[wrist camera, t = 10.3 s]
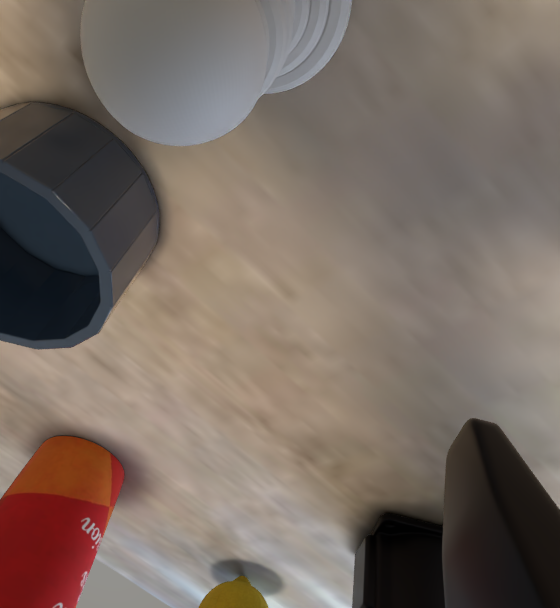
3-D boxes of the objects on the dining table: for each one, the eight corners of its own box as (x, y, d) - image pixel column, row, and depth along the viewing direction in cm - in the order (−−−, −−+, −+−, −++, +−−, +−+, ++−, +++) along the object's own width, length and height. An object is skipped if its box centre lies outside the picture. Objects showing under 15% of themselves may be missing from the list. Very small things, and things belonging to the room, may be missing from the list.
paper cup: (102, 510, 36) (-22, 774, 25) (4, 452, 33) (-181, 718, 23) (166, 474, 32) (50, 772, 21) (59, 405, 29) (-136, 703, 18)
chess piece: (197, 97, 17) (67, 230, 10) (151, -105, 14) (-82, -110, 7) (358, 80, 16) (334, 216, 9) (347, -144, 13) (298, -195, 6)
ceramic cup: (162, 128, 18) (107, 185, 15) (158, 296, 23) (115, 369, 19) (-47, 79, 18) (-152, 123, 15) (-8, 256, 23) (-80, 321, 20)
